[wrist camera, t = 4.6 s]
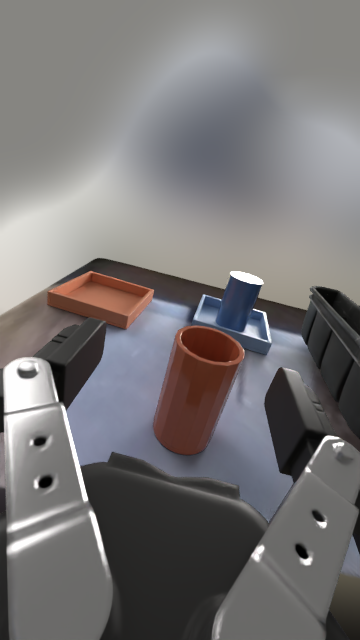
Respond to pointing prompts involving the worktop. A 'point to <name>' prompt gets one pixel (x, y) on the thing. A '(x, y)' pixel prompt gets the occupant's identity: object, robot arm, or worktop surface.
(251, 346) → the blue tray
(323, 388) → the worktop surface
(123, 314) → the terracotta tray
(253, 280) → the blue upright cylinder
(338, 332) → the dish rack
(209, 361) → the terracotta cup
